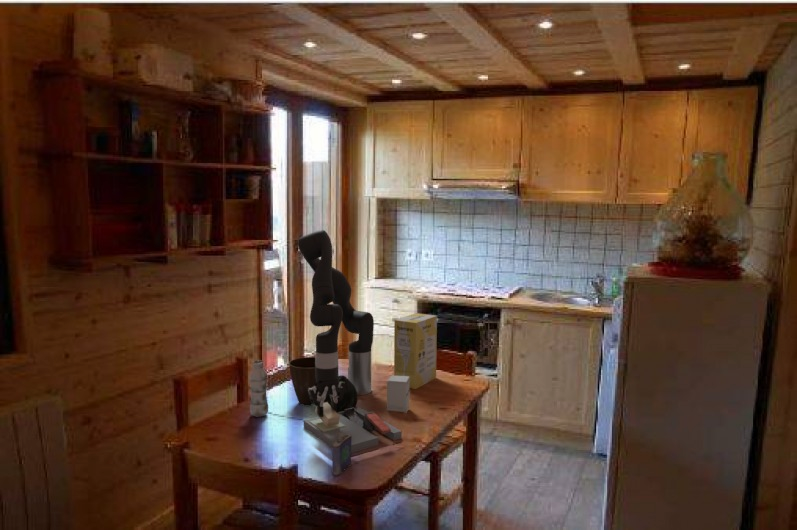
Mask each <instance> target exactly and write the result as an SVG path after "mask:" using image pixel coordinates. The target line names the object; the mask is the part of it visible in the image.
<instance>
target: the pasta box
mask: <svg viewBox="0 0 797 530" xmlns="http://www.w3.org/2000/svg"><path fill="white" fill-rule="evenodd" d="M393 327H394V328H393V329H394V333H393V334H394V335H393V336H394V337H393V338H394V340H393V342H394V343H393V346H394V352H393V357H394V358H393V360H394V361H393V365H394V366H393V376H409V377H410V378H409V389H414V390H416V389H418V388H420V387H422V386H424V385H426V384H428V383H429V382H432V381H433V380H435V379H437V353H438V351H437V347H438V346H437V341H438V339H437V337H438V336H437V335H438V334H437V333H438V329H437V328H438V315H433V314H428V313H427V314H426V313H418V312H417V313H413V314H409V315H407V316H404V317H403V316H402V317H400V318H397V319H394V326H393ZM434 378H435V379H434Z"/></svg>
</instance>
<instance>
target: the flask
mask: <svg viewBox="0 0 797 530" xmlns="http://www.w3.org/2000/svg"><path fill="white" fill-rule="evenodd" d="M338 435H339V437H338V439H337V440H336V441H335V442H334V444H333V446H332V447H333V449H332V471H331V472H332V476H336V477H339V476H340V474H341V473H342V474H343V473H344V472H345V471H344V469H345V470H347V469H348V468H349V467H350V466H351V465H352V457H351V456H352V453H351V435H350V434H344V435H343V434H342V433H341V434H340V433H338ZM348 466H349V467H348ZM343 471H344V472H343ZM342 474H341V475H342Z"/></svg>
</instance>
